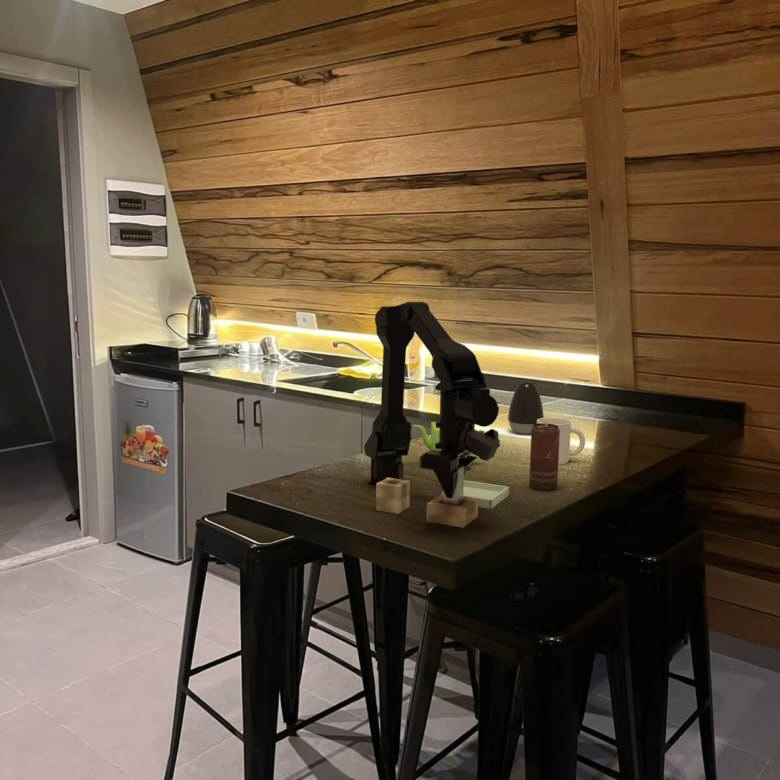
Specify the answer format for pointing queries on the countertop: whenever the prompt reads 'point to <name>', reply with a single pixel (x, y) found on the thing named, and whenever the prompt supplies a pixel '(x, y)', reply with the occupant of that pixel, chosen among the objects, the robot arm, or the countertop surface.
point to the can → (544, 456)
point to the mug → (565, 438)
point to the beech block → (392, 495)
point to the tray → (485, 493)
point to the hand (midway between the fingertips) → (452, 495)
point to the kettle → (432, 436)
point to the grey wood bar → (456, 490)
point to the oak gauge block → (452, 512)
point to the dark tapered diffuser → (525, 408)
